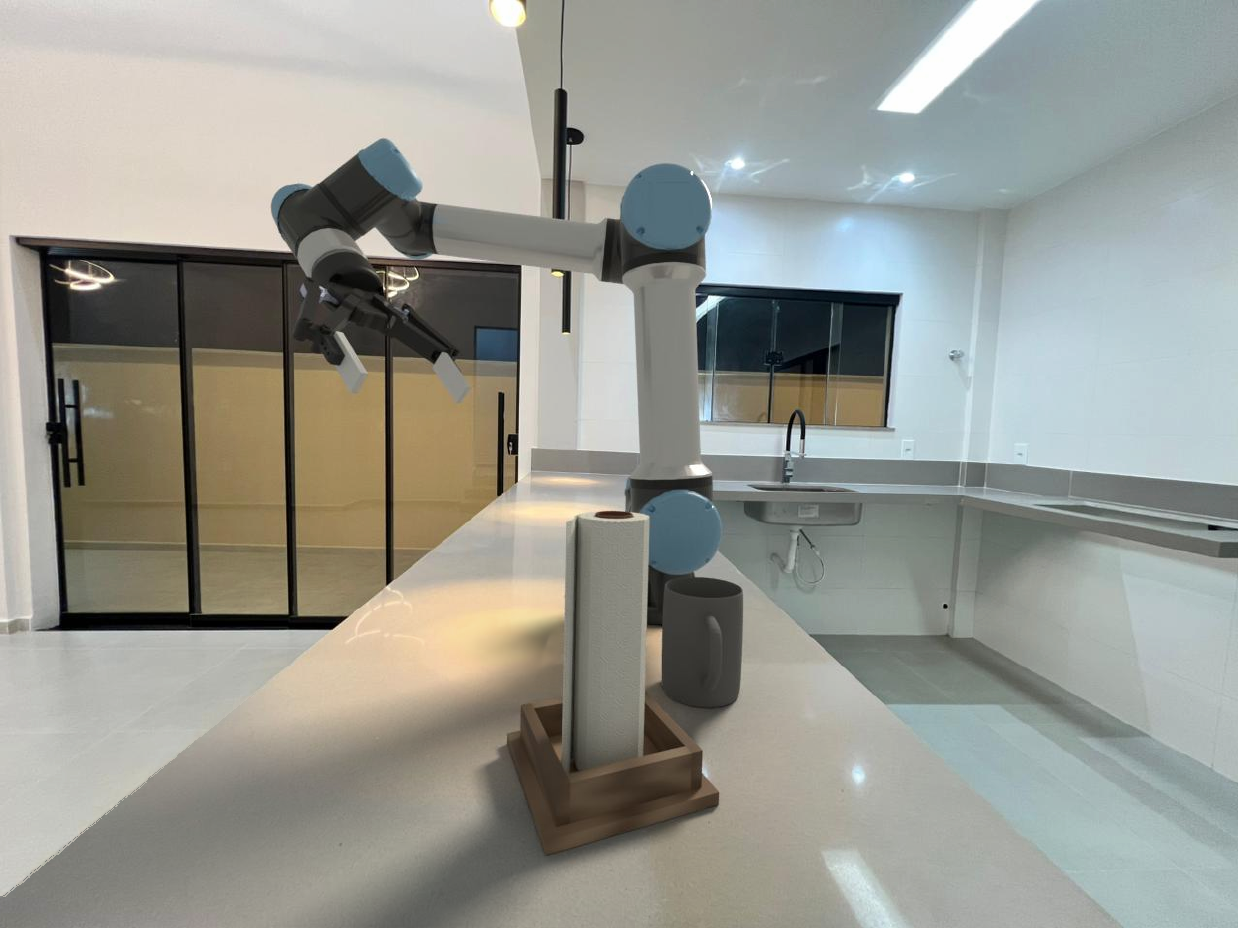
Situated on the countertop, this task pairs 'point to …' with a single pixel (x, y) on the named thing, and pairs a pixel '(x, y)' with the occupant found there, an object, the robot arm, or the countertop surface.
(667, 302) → the robot arm
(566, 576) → the paper towel roll
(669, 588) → the mug
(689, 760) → the wooden tray
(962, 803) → the countertop surface
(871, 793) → the countertop surface
